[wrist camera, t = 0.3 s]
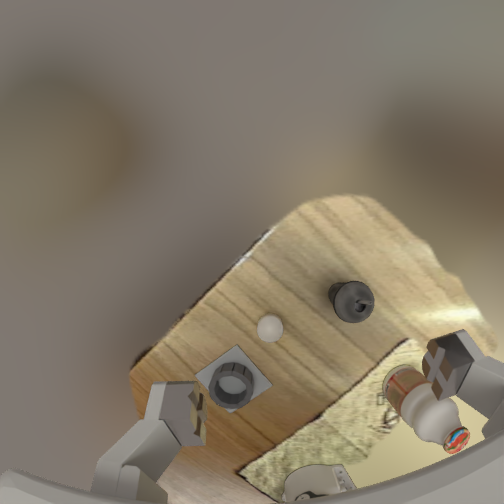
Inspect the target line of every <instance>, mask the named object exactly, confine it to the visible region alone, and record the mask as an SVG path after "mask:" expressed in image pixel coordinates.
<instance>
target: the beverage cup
mask: <svg viewBox="0 0 504 504" xmlns="http://www.w3.org/2000/svg"><path fill="white" fill-rule="evenodd" d="M329 299H330V301H331V303H332V304H333V307H334V310H335V313H336V314H337V316H338V317H339V318H340V319H342V320H343V321H345V322H349V323H359V322H361V321H364V320H365V319H366V318H368V317H369V316H370V314H371V313H372V311H373V308H374V296H373V293H372V292H371V290H370V289H369V287H368V286H367V285H365V284H364V283H362V282H359V281H350V282H347V283H336V284H334V285H333V286H331V288H330V290H329Z"/></svg>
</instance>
